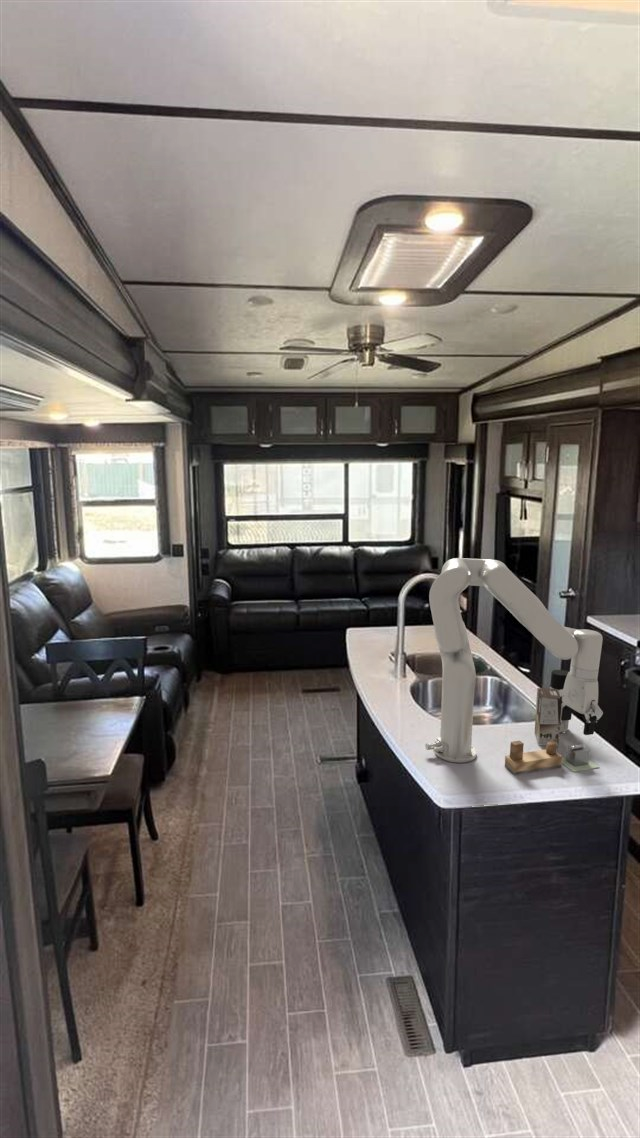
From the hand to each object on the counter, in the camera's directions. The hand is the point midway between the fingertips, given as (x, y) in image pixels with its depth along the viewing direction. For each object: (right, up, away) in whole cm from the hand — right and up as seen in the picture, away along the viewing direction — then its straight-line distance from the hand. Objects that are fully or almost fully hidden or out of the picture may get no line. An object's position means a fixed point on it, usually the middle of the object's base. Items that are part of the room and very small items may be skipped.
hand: (576, 727), depth 180 cm
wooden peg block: (-13, -12, 0) cm, 18 cm away
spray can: (+4, -7, +25) cm, 27 cm away
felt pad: (+1, -11, +2) cm, 12 cm away
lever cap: (+1, -11, +2) cm, 11 cm away
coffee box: (-3, -9, +17) cm, 20 cm away
